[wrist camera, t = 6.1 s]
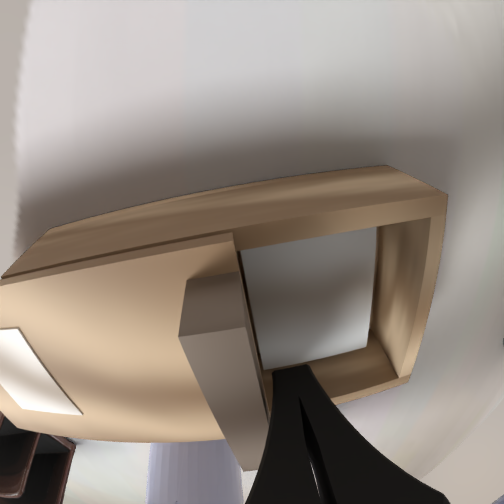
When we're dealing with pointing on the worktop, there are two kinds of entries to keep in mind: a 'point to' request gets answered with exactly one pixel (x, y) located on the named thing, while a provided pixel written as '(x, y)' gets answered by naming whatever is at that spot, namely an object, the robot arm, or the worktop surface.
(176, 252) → the mailer lid
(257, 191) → the box
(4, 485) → the letter holder
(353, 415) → the worktop surface
